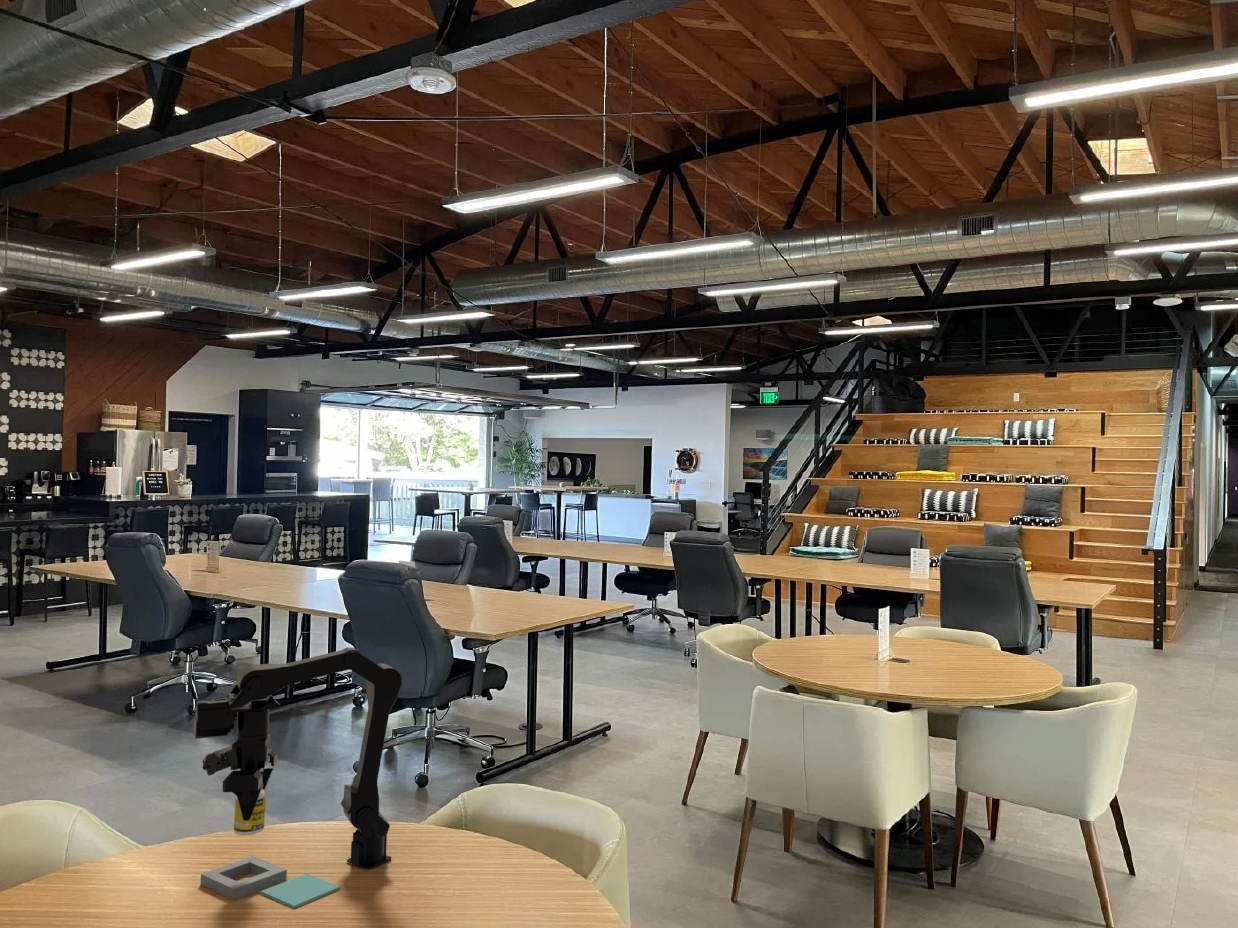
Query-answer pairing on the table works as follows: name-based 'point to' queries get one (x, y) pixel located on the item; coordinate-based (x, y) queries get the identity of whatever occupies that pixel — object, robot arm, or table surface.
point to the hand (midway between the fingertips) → (250, 814)
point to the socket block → (232, 889)
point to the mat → (300, 890)
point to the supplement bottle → (256, 818)
